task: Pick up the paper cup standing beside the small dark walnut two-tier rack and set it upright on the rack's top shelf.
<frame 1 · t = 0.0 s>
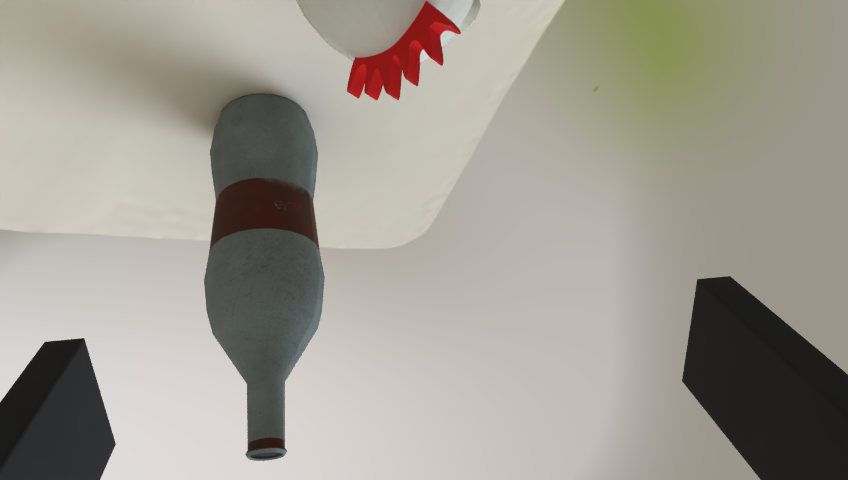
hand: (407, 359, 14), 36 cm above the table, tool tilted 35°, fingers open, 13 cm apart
bottle: (264, 121, 61), on the table
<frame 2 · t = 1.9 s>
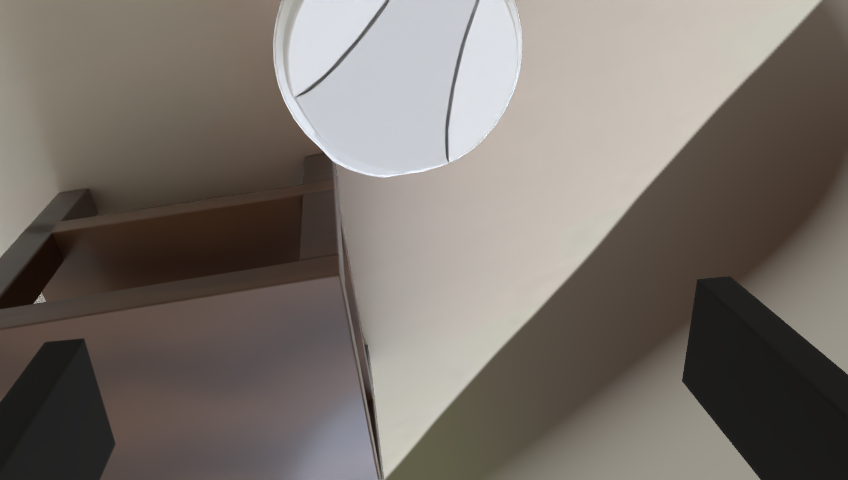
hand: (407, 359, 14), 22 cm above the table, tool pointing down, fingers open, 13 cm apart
rack: (230, 286, 37), on the table
paper cup: (370, 4, 32), on the table
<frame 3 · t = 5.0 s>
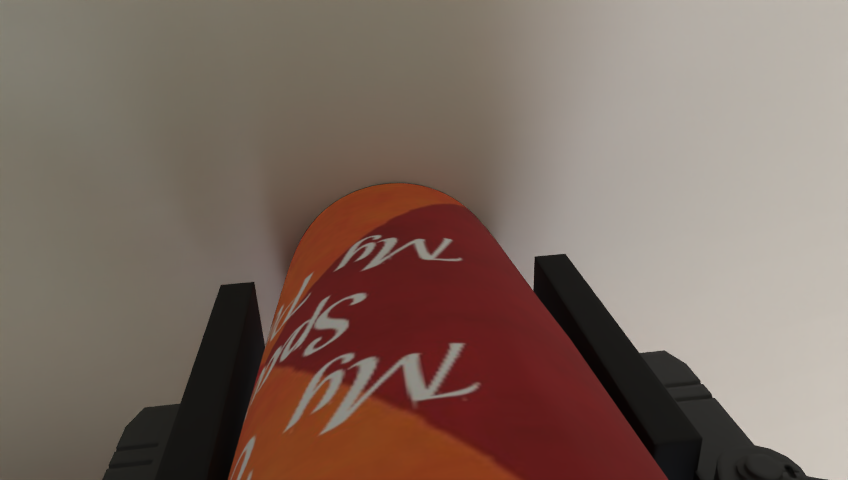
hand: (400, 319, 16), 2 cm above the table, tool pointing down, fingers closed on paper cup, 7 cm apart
paper cup: (393, 278, 18), on the table, touching gripper
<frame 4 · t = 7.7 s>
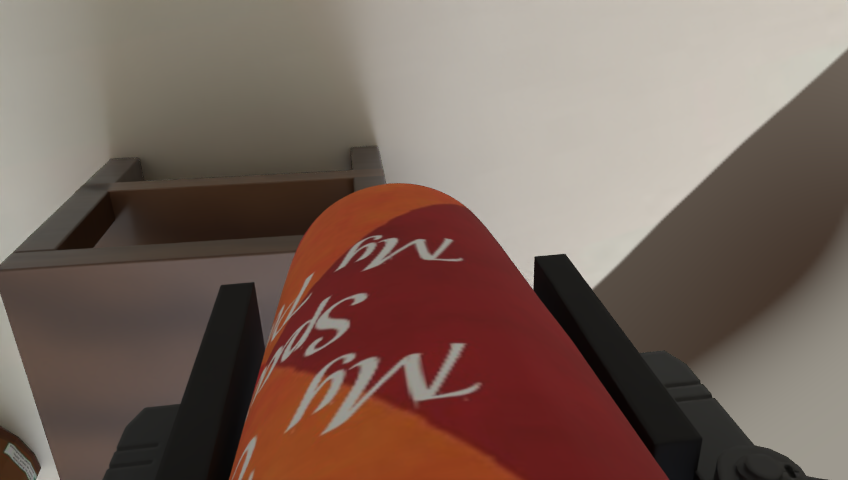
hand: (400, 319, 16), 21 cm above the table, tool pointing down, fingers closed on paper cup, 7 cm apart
rack: (262, 269, 38), on the table
paper cup: (394, 278, 18), point 19 cm above the table, touching gripper
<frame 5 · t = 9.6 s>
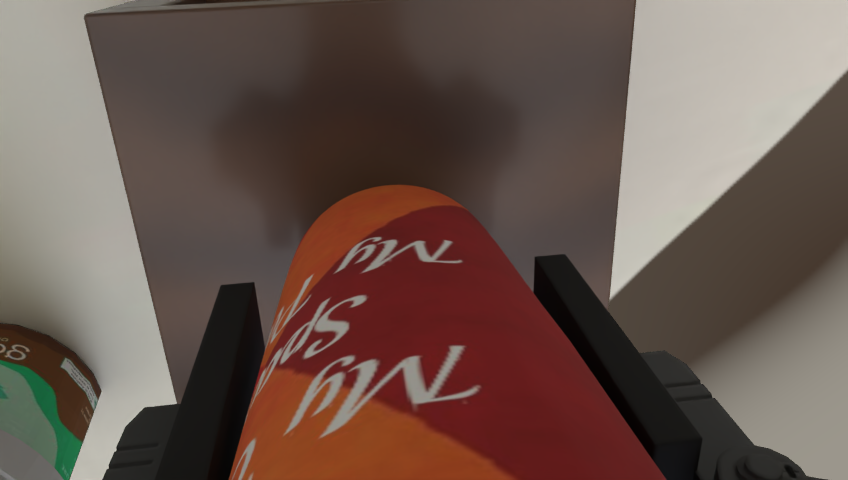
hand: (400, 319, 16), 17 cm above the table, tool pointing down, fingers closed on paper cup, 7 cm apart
rack: (368, 135, 31), on the table
paper cup: (393, 279, 18), point 15 cm above the table, touching gripper
when the fingers open (15 cm above the table, at t = 10.6 s): paper cup stays where it is, resting on rack.
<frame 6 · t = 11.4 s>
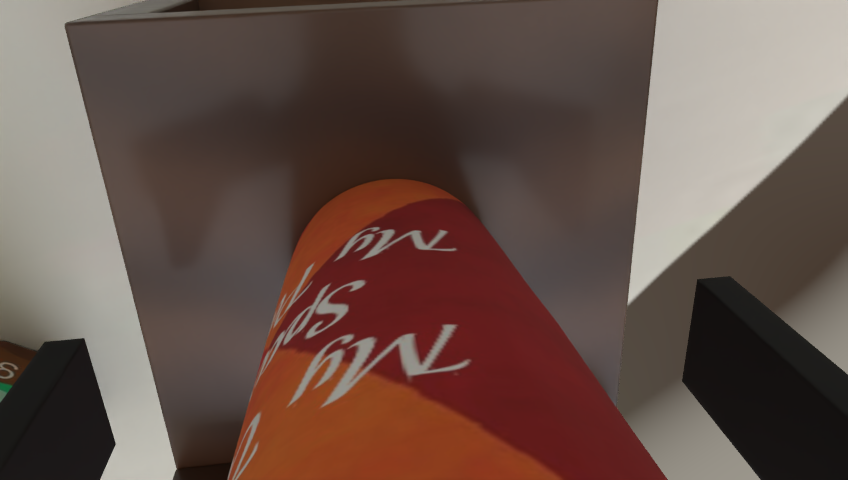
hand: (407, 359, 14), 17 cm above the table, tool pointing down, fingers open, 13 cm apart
rack: (369, 145, 30), on the table
paper cup: (391, 271, 18), point 13 cm above the table, touching rack
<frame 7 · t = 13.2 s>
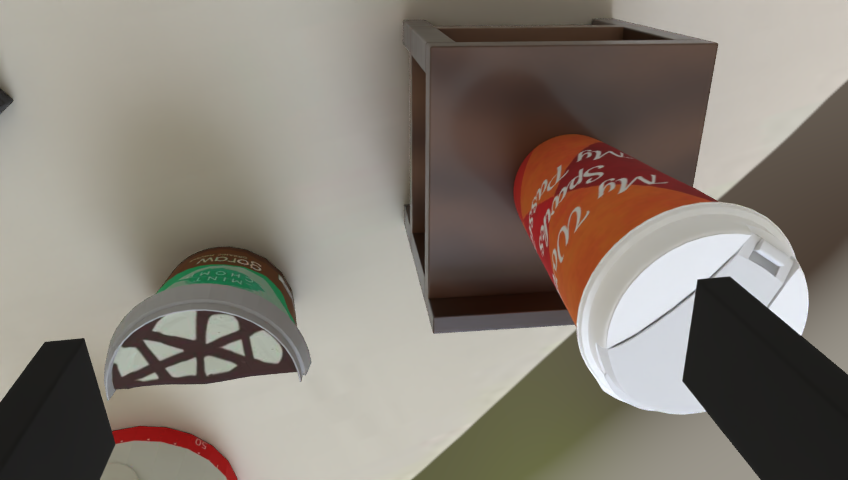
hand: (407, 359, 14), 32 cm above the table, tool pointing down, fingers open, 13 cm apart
rack: (504, 125, 45), on the table
food container: (224, 269, 47), on the table
paper cup: (563, 186, 34), point 13 cm above the table, touching rack
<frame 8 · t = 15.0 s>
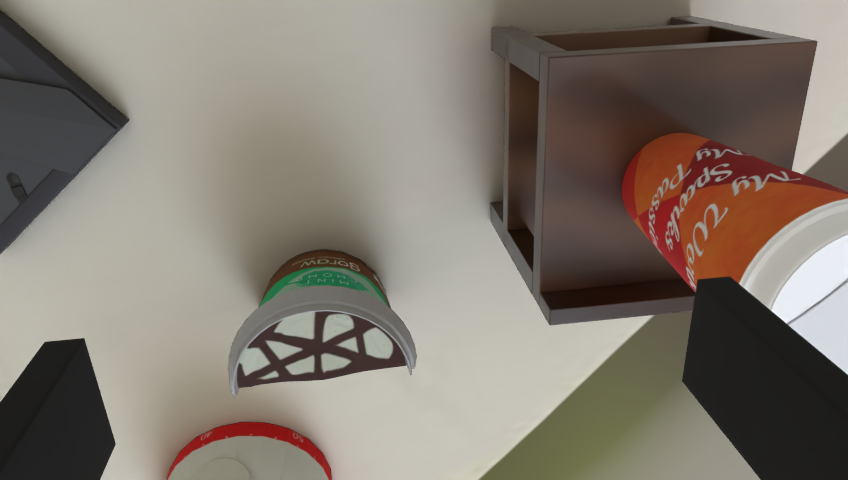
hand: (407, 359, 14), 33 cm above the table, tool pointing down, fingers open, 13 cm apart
rack: (586, 123, 47), on the table
food container: (320, 271, 49), on the table
paper cup: (668, 182, 35), point 13 cm above the table, touching rack
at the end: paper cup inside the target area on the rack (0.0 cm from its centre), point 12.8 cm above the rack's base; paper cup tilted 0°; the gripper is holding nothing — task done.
